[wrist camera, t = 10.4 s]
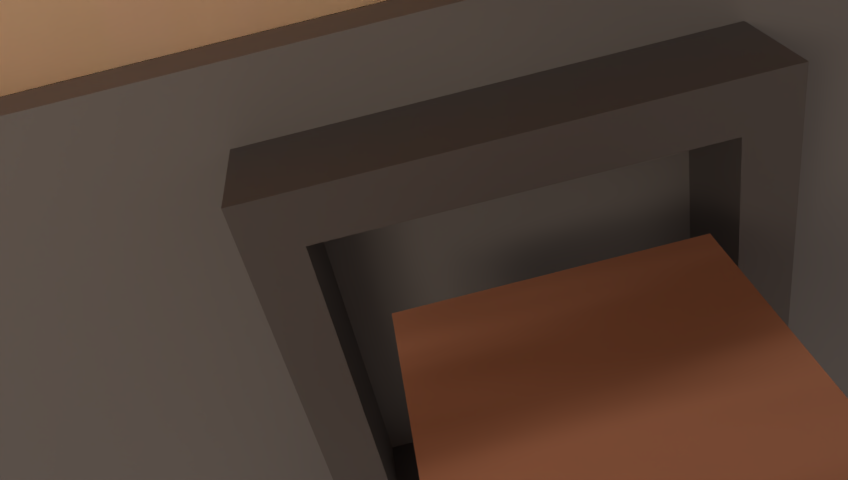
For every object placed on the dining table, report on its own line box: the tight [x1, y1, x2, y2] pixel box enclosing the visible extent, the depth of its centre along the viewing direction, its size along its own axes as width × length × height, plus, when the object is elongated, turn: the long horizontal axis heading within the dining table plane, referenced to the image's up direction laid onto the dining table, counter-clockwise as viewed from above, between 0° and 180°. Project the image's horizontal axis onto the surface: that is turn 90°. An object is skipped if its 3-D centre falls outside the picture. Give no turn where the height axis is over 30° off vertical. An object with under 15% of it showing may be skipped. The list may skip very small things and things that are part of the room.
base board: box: [0, 0, 848, 480], centre depth 15 cm, size 20×12×3 cm, turn 102°
